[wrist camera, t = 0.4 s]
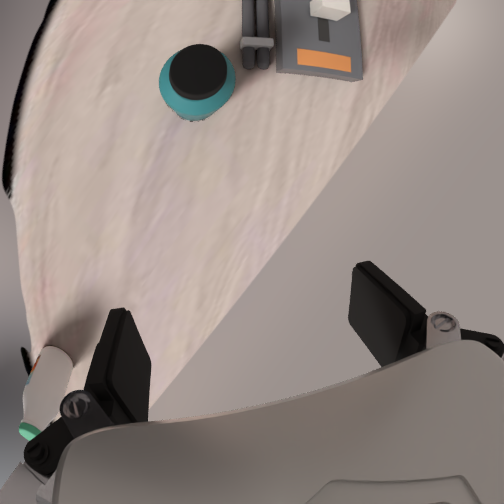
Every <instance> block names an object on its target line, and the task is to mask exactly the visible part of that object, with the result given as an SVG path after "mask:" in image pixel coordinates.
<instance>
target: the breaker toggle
mask: <svg viewBox="0 0 504 504" xmlns="http://www.w3.org/2000/svg"><path fill="white" fill-rule="evenodd" d="M350 13H351V10H350V2H349V0H312V1H311V2H310V15H311V16H315V17H320V18H325V19H330V20H334V21H338V20H340V19H341V18H343V17H345V16H346V15H348V14H350Z"/></svg>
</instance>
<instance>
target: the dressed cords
mask: <svg viewBox="0 0 504 504" xmlns="http://www.w3.org/2000/svg"><path fill="white" fill-rule="evenodd" d="M256 11H257V37H254V0H242V39H241V41H240V49H242V55H243V66H244V68H246V69H251V68H253V67H254V65H255V50H257V64H258V67H259V68H260V69H263V70H264V69H267V68H268V67H269V64H270V62H269V50H270V49H271V48H272V47H273V46H274V41H273V38H269V21H268V0H256Z"/></svg>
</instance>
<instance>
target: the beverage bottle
mask: <svg viewBox="0 0 504 504" xmlns="http://www.w3.org/2000/svg"><path fill="white" fill-rule="evenodd" d="M235 80H236V78H235V71H234V68H233V65H232V63H231V62H230V60H229V59H228V58H227V57H226V56H225V55H224V54H223V53H221V52H220V51H218V50H217V49H215V48H214V47H212V46H209V45H204V44H196V45H191V46H188V47H186V48H184V49H182V50H180V51H178V52H177V53H175V54H174V55H173V56H171V57H170V58H169V59H168V60H167V62H166V63H165V64H164V66H163V68H162V70H161V73H160V77H159V88H160V92H161V95H162V97H163V99H164V100H165V102H166V103H167V104H168V105H169V106H170V107H171V109H173V110H174V111H175V112H176V113H177V114H178V115H179V116H180V117H182V118H184V119H186V120H190V122H193V121H198V120H202V121H203V119H205V118H207V117H209V116H210V115H212V114H213V113H214V112H216V111H217V110H218V109H219V108H221V107H222V106H223V105H224V104H225V103H226V102H227V101H228V99H229V98H230V96H231V95H232V93H233V90H234V87H235ZM168 105H167V106H168ZM173 110H172V111H173ZM175 112H174V113H175ZM199 122H200V121H199Z"/></svg>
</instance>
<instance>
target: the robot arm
mask: <svg viewBox="0 0 504 504" xmlns="http://www.w3.org/2000/svg"><path fill="white" fill-rule="evenodd" d="M425 313H426V309H425V308H423V307H422V306H421V305H420V304H419V303H418V302H417V301H416V300H415V299H414V298H412V297H411V296H410V295H409V294H408V293H407V292H406V291H405V290H403V289H402V288H401V287H400V286H399V285H398V284H396V283H395V282H394V281H393V280H392V279H391V278H390V277H388V276H387V275H386V274H385V273H384V272H383V271H382V270H380V269H379V268H378V267H377V266H376V265H374V264H373V263H372V262H371V261H365V262H360V263H357V264H356V267H354V268H353V272H352V284H351V295H350V305H349V315H348V320H349V323H350V325H351V326H352V327H353V329H354V330H355V332H356V333H357V334H358V336H359V337H360V338H361V340H362V341H363V342H364V343H365V345H366V346H367V348H368V349H369V350H370V352H371V353H372V354H373V356H374V357H375V359H376V360H377V361H378V363H379V364H380V365H381V368H379V369H376V370H373V371H371V372H368V373H366V374H363V375H360V376H358V377H354V378H352V379H349V380H346V381H343V382H340V383H337V384H334V385H330V386H327V387H324V388H321V389H318V390H314V391H311V392H307V393H304V394H300V395H297V396H293V397H289V398H285V399H281V400H278V401H274V402H269V403H265V404H260V405H256V406H251V407H246V408H241V409H236V410H231V411H225V412H220V413H214V414H207V415H201V416H193V417H186V418H178V419H170V420H161V421H151V422H148V408H149V390H150V376H151V360H150V357H149V355H148V353H147V350H146V348H145V346H144V344H143V341H142V339H141V337H140V334H139V332H138V329H137V327H136V325H135V322H134V320H133V317H132V315H131V312H130V311H129V310H128V311H126V309H125V308H117V309H111V310H110V312H109V315H108V318H107V321H106V324H105V327H104V330H103V333H102V336H101V339H100V342H99V343H98V344H97V346H96V349H95V352H94V355H93V358H92V362H91V365H90V368H89V372H88V375H87V379H86V383H85V386H84V390H75V391H72V392H70V393H69V394H67V395H66V396H65V397H64V398H63V400H62V401H61V404H60V410H59V411H60V414H61V416H62V417H61V418H59V419H58V420H57V421H55V422H54V423H53V424H51V425H50V426H49V427H47V428H46V429H45V430H43V431H42V432H41V433H39V434H38V435H37V436H35V437H34V438H33V439H31V440H30V441H29V442H28V443H27V445H26V447H25V450H24V459H25V462H24V464H22V463H21V462H20V463H19V464H18V466H17V467H16V468H15V470H14V471H13V473H12V474H11V475H10V477H9V478H8V480H7V481H6V482H5V484H4V485H3V487H2V488H1V490H0V504H504V344H503V342H502V341H501V340H500V339H499V338H498V337H497V336H495V335H492V334H487V333H481V332H476V331H471V330H465V329H460V326H459V322H458V320H457V319H456V318H455V317H454V316H453V315H451V314H449V313H446V312H434V313H432V314H430V315H429V316H427V315H426V314H425Z"/></svg>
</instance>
